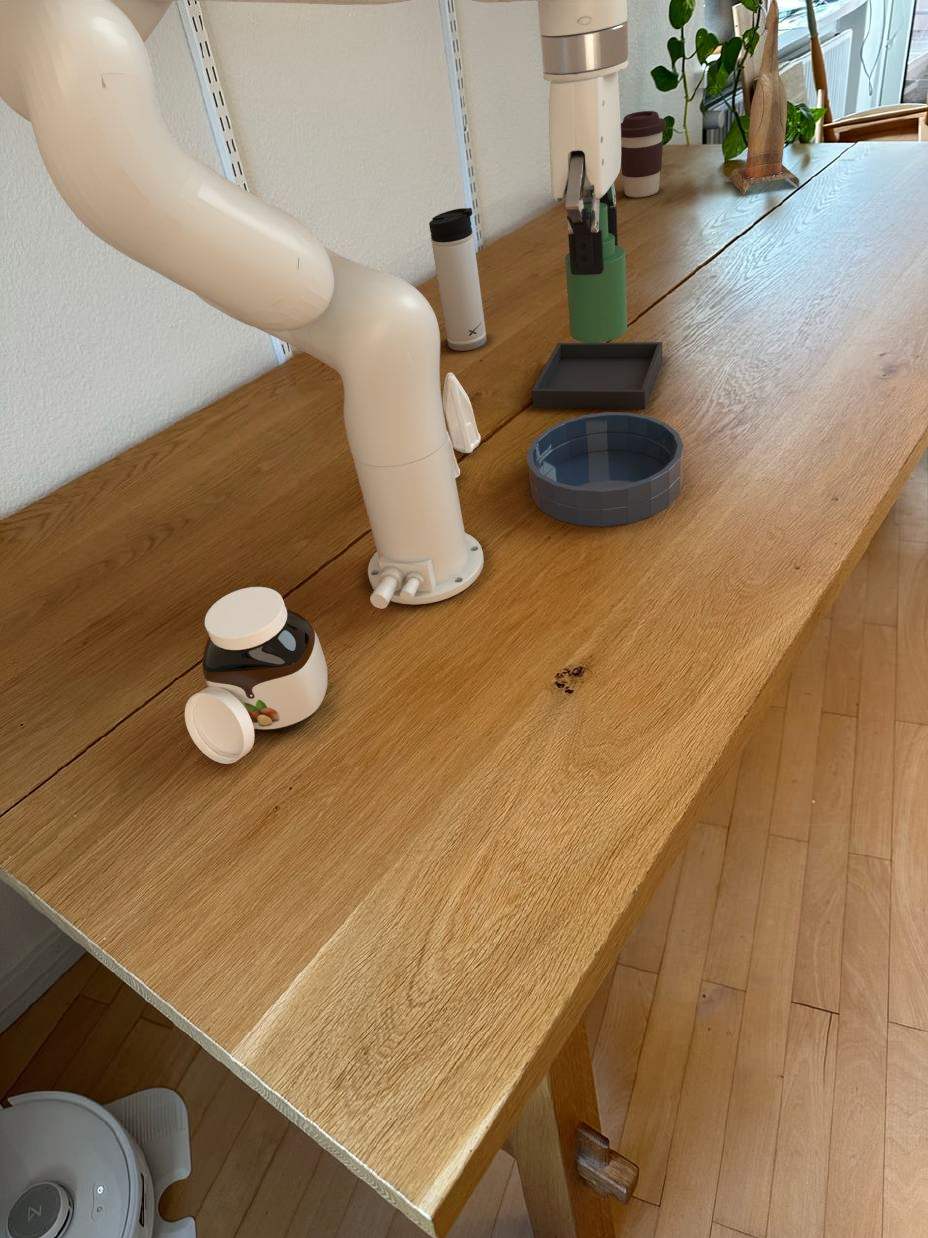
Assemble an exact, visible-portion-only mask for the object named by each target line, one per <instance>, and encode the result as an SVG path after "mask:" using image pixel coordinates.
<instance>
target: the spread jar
mask: <svg viewBox="0 0 928 1238" xmlns="http://www.w3.org/2000/svg"><path fill="white" fill-rule="evenodd" d="M204 627H205V629H206V631H207V635H208V638H207V641H206V643H205V647H204V649H203V655H202V674H203V677H204V681H205V683H206V685H207V687H205V688H203V689H201V690H200V691H198V692H196V693H195V694H193V695H192V696H190V697H189V699H188V700H187V701H186V703H185V707H184V722H185V725H186V729H187V732H188V734H189V736H190V738H191V740H192V741H193V743H194V745H196V747H197V748H198V749H199V750H200V751H201V752H202V754H203V755H205V756H206V757H208V758H209V759H211V760H212V761H214V762H216V763H220V764H223V765H224V764H225V765H229V764H233V763H236V762H237V761H239V760H240V759H242V758H243V757H245V756H246V755H247V754H248V753H250V752H251V750H252V749H253V746H254V743H255V733H257V734H263V735H275V734H282V733H286V732H289V731H292V730H295V729H296V728H298V727H300V726H302V725H304V724H305V723H307V722H308V721H310V720H311V719H312V718H313V717H314V716H315V715H316V713H317V712H318V711H319V709H320V708H321V706H322V704H323V702H324V699H325V697H326V694H327V689H328V683H329V682H328V681H329V678H328V677H329V675H328V665H327V661H326V657H325V655H324V654H325V653H324V651H323V647H322V644H321V643H320V639H319V636H318V634H317V633H316V630H315V629H314V627H313V625H312V623H311V622H309V620H307V618H305V617H304V616H303V615H301V614H299V613H298V612H296V611H293V610H292V609H289V608H287V607H286V605H285V602H284V599H283V597H282V595H281V594H280V593H279V592H278V591H277V590H275V589H272V588H269V587H264V586H251V587H245V588H240V589H238V590H235V591H232V592H230V593H228V594H226V595H224V596H222V597H221V598H220V599H218V600H217V601H216V602H215V603H213V604H212V606H211V607H210V608H209V609H208V610H207V612H206V614H205V617H204Z"/></svg>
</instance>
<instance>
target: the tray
mask: <svg viewBox="0 0 928 1238" xmlns="http://www.w3.org/2000/svg"><path fill="white" fill-rule="evenodd" d="M662 363H663V341H648V342H647V341H645V342H644V341H643V342H642V341H639V342H638V341H637V342H636V341H635V342H631V341H629V342H627V341H626V342H624V341H623V342H621V341H620V342H599V343H586V342H557V344H556V345H555V347H554V349H553V351H552V352H551V355H550V356H549V358H548V360H547V362H546V363H545V365H544V367H543V369H542V371H541V373H540V375H539V376H538V378H537V380H536V382H535V383H534V385H533V387H532V389H531V400H532V407H533V408H553V409H554V408H558V409H559V408H561V409H611V410H612V409H614V410H617V409H619V410H645V409H646V408H647V406H648V404H649V401H650V398H651V396H652V392H653V389H654V386H655V384H656V381H657V377H658V375H659V372H660V369H661V365H662Z"/></svg>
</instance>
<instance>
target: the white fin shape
mask: <svg viewBox="0 0 928 1238" xmlns="http://www.w3.org/2000/svg"><path fill="white" fill-rule="evenodd" d="M442 406H443V412H444V418H445V422H446V426H447V428H448V431H447V434H448V440H449V445H450V451H451V457H452V463H453V468H454V474H455V479H456V478H458V477H459V476H460V475H461V469H460V467H459V464H458V461H457V458H456V455H455V451H454V450H456V451H457V452H459V453H462V454H471V453H473V451H474V450H475V449H476V448H478V447H479V445H480V444H481V438H482V437H481V434H480V433H479V430H478V427H477V422H476V417H475V414H474V413H475V412H474V410H473V406H472V403H471V400H470V397H469V396H468V394H467V392H466V391H465V389H464V388H463V386H462V385H461V383H460V381H459V379H458V378H457V376H456V375H455V374H454V373H453V372H447V373H446V375H445V379H444V383H443V391H442Z"/></svg>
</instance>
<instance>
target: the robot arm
mask: <svg viewBox="0 0 928 1238" xmlns="http://www.w3.org/2000/svg"><path fill="white" fill-rule="evenodd" d="M177 1H179V0H0V99H1V100H2V101H3V102H4V103H5V104H6V105H7V106H8V107H9V108H10V109H11V110H12V111H13V112H15V114H17V115H19V116H20V117H21V118H23V119H24V120H26V121H27V122H30V123H31V127H32V130H33V134H34V138H35V141H36V145H37V148H38V151H39V154H40V157H41V159H42V162H43V164H44V166H45V169H46V171H47V173H48V175H49V177H50V179H51V181H52V183H53V185H54V186H55V188H56V190H57V192H58V193H59V195H60V197H61V198H62V200H63V201H64V203H65V204H66V205H67V207H68V208H69V210H70V211H71V212H72V213H73V214H74V216H76V218H77V220H78V221H80V222H81V224H83V226H84V227H85V228H86V229H87V230H89V231H90V232H91V233H92V234H93V235H95V236H96V237H97V238H99V239H100V240H101V241H102V242H104V243H105V244H106V245H108V246H110V247H111V248H113V249H114V250H115V251H117V252H119V253H120V254H122V255H124V256H125V257H127V258H129V259H131V260H133V261H135V262H136V263H138V264H140V265H142V266H144V267H146V268H148V269H150V270H152V271H153V272H155V273H157V274H158V275H160V276H162V277H164V278H166V280H167V279H168V280H169V281H171V282H173V283H174V284H176V285H178V286H180V287H182V288H184V289H185V290H188V291H190V292H192V293H194V294H195V295H196V296H197V297H198V298H199V299H201V300H202V301H203V302H204V303H206V304H208V305H210V306H211V307H212V308H215V310H218V311H219V312H221V313H223V314H224V315H226V316H229V317H230V318H232V319H234V320H236V321H237V322H240V323H242V324H245V325H246V326H250V327H253V328H256V329H257V330H260V331H261V332H264V333H265V334H268V335H269V336H272V337H274V338H276V339H278V340H280V341H281V342H284V343H285V344H288V345H290V346H292V347H295V348H296V349H298V350H300V351H302V352H304V353H305V354H308V355H310V356H311V357H313V358H314V359H316V360H318V361H320V362H322V363H323V364H326V365H327V366H328V367H329V368H331V369H333V370H334V371H336V372H337V373H338V374H339V376H340V378H341V381H342V384H343V422H344V423H343V424H344V428H345V434H346V438H347V442H348V446H349V450H350V454H351V457H352V459H353V463H354V468H355V472H356V475H357V479H358V483H359V486H360V491H361V494H362V499H363V502H364V506H365V511H366V513H367V519H368V521H369V525H370V530H371V533H372V537H373V542H374V545H375V549H376V552H375V553H373V555H372V556H371V558H370V560H369V562H368V566H367V577H368V581H369V583H370V585H371V588H372V590H373V591H372V593H371V595H370V598H369V602H370V603H371V605H372V606H373V607H374V608H376V609H381V610H383V609H386V608H387V607H388V606H389V604H390V603H391V602H393V603H397V604H401V605H413V606H414V605H426V604H432V603H437V602H440V601H443V600H447V599H449V598H452V597H454V596H456V595H458V594H460V593H461V592H463V591H465V590H466V589H468V588H469V587H470V586H471V585H472V584H473V583H475V581H476V580H477V578H479V576H480V574H481V572H482V570H483V568H484V563H485V560H484V551H483V549H482V545H481V543H479V541H478V539H476V538H475V537H474V536H472V535H471V534H468V533H467V532H466V531H465V526H464V521H463V515H462V510H461V509H462V508H461V503H460V498H459V492H458V486H457V481H456V480H457V479H456V478H455V474H454V468H453V463H452V457H451V451H450V445H449V440H448V434H449V433H448V434H447V432H448V430H447V423H446V417H445V413H444V408H443V403H442V402H443V397H442V391H441V373H440V372H441V370H440V368H441V367H440V366H441V365H440V364H441V331H440V328H439V327H440V326H439V322H438V319H437V316H436V312H435V311H434V309H433V307H432V305H431V304H430V302H429V301H428V300H427V298H426V297H425V296H424V295H423V293H421V292H420V291H419V290H418V289H417V288H416V287H415V286H413V285H412V284H411V283H409V282H408V281H406V280H404V279H403V278H401V277H398V276H397V275H393V274H391V273H389V272H385V271H383V270H380V269H378V268H375V267H372V266H369V265H365V264H362V263H360V262H356V261H354V260H352V259H349V258H347V257H345V256H344V255H343V256H342V255H340V254H339V253H337V252H335V251H333V250H331V249H330V248H328V247H326V246H325V245H324V244H323V243H322V242H321V240H320V239H319V238H318V237H317V236H316V234H315V233H314V232H313V230H311V229H310V227H308V226H307V225H306V224H305V223H303V222H302V221H301V220H300V219H299V218H297V217H296V216H294V215H293V214H291V213H289V212H288V211H287V210H285V209H282V208H279V207H277V206H275V205H274V204H270V203H268V202H267V201H265V200H263V199H262V198H260V197H258V196H256V195H255V194H253V193H251V192H250V191H248V190H246V189H244V188H243V187H242V186H240V185H238V184H236V183H235V182H233V181H231V180H230V179H229V178H227V177H225V176H223V175H222V174H221V173H219V172H218V171H216V170H215V169H214V168H212V167H211V166H209V164H206V163H205V162H204V161H202V160H200V159H199V158H197V157H196V156H195V155H193V154H191V153H190V152H189V151H187V150H186V149H185V148H184V147H183V146H182V145H181V144H179V142H178V141H177V140H176V139H175V138H174V136H173V135H172V133H171V132H170V130H169V128H168V126H167V124H166V122H165V120H164V117H163V115H162V112H161V109H160V104H159V101H158V96H157V91H156V84H155V78H154V72H153V67H152V64H151V59H150V56H149V53H148V50H147V48H146V45H145V43H146V42H147V40H148V39H149V37H150V36H151V34H152V33H153V32H154V30H155V29H156V28H157V26H158V25H159V23H160V22H161V21H162V19H163V17H164V16H165V14H166V13H167V11H168V9H169V8H170V7H171V5H172V4H173V3H174V2H177ZM189 1H193V2H223V3H224V2H226V3H231V2H232V3H267V4H268V3H270V4H271V3H273V4H305V5H306V4H307V5H308V4H309V5H334V6H360V5H361V6H367V5H369V6H373V5H374V6H375V5H377V6H378V5H389V4H398V3H403V2H410V1H411V0H189ZM472 1H473V2H476V3H486V4H489V3H492V4H493V3H511V2H531V1H534V2H537V10H538V24H539V25H538V26H539V34H540V35H539V36H540V37H539V38H540V49H541V51H540V53H541V62H542V74H543V75H542V76H543V79H544V81H547V82H549V83H550V84H549V101H548V102H549V103H548V131H549V132H548V136H549V138H548V139H549V165H550V187H551V189H550V191H551V197H552V199H553V200H554V201H555V202H556V203H561V202H562V201H563V200H564V199H565V211H566V213H567V216H566V220H567V235H568V236H567V238H568V253H570V267H571V273H572V274H573V275H595V274H601V273H602V272H603V270H604V259H603V236H602V230H599V203H604V204H606V205H607V215H608V233H610V234H613V235H614V238H615V245H616V246H619V239H618V238H619V237H618V236H619V233H618V231H619V230H618V207H617V206H616V205H617V195H616V194H617V193H616V186H615V181H616V179H617V178H618V176H619V174H620V171H621V123H622V122H621V120H622V119H621V104H620V103H621V102H620V83H619V73H618V72H621V71H623V70H625V69H627V68H628V67H629V34H628V33H629V32H628V31H629V28H628V27H629V26H628V0H472ZM584 193H585V195H584ZM586 204H591V216H590V212H589V211H588V208H584V205H586Z"/></svg>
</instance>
